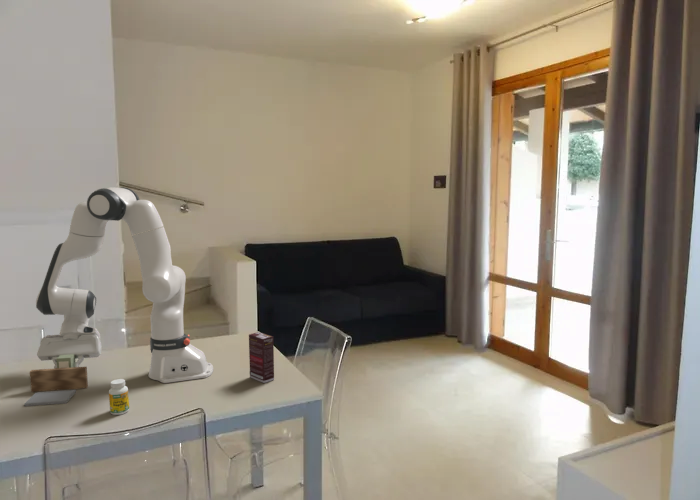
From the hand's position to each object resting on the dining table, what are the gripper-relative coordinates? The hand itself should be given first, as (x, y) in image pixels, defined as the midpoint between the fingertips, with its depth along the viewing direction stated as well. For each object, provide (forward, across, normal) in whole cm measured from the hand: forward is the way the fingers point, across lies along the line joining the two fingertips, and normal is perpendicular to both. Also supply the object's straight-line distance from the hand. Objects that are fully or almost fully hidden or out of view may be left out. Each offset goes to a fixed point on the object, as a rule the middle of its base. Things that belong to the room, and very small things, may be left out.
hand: (66, 369), depth 179 cm
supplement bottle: (+24, +24, -17) cm, 37 cm away
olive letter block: (+3, 0, +4) cm, 4 cm away
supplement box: (+10, +67, -3) cm, 68 cm away
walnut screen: (+8, 0, -1) cm, 8 cm away
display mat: (+13, 0, -7) cm, 15 cm away
